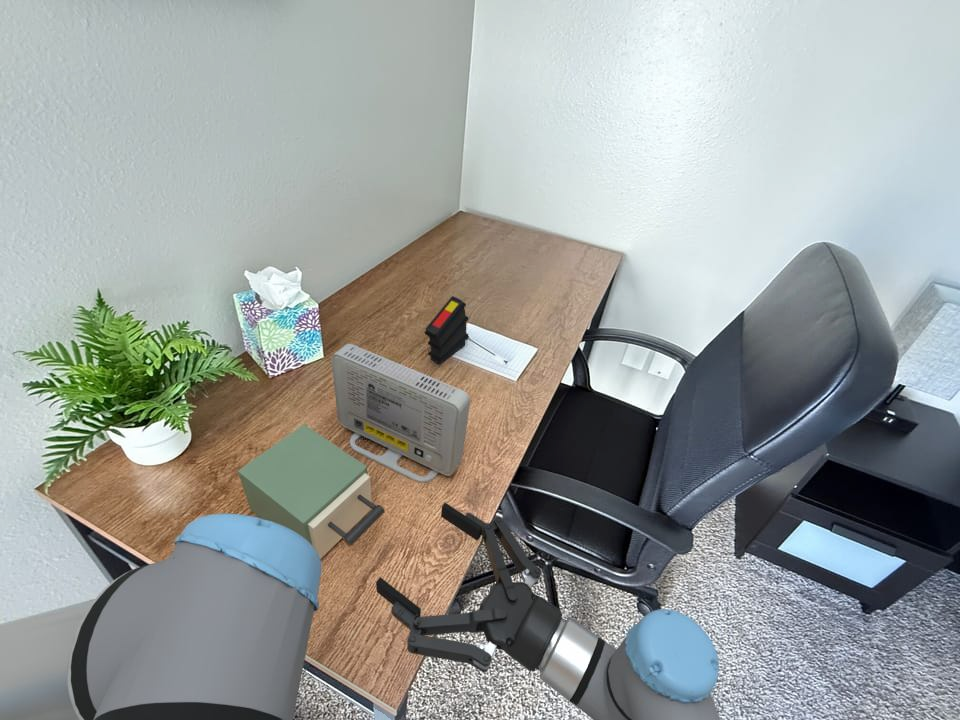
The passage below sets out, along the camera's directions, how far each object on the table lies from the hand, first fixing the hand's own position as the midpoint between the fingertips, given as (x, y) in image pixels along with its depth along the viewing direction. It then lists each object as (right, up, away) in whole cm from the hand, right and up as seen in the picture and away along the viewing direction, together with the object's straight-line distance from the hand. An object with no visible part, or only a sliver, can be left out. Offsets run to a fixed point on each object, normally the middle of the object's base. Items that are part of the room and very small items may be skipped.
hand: (412, 544), depth 63 cm
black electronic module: (+1, +26, +52) cm, 59 cm away
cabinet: (-19, 0, +15) cm, 25 cm away
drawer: (-16, -1, +13) cm, 21 cm away
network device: (-7, +7, +27) cm, 29 cm away
